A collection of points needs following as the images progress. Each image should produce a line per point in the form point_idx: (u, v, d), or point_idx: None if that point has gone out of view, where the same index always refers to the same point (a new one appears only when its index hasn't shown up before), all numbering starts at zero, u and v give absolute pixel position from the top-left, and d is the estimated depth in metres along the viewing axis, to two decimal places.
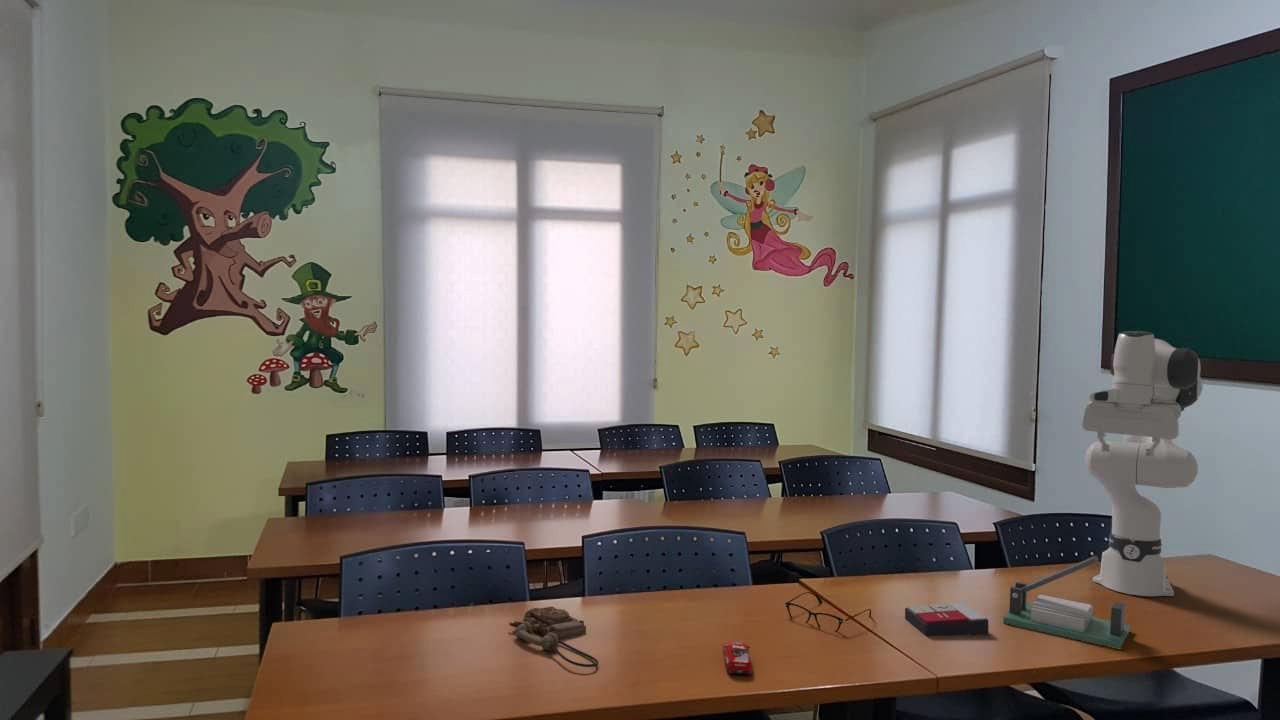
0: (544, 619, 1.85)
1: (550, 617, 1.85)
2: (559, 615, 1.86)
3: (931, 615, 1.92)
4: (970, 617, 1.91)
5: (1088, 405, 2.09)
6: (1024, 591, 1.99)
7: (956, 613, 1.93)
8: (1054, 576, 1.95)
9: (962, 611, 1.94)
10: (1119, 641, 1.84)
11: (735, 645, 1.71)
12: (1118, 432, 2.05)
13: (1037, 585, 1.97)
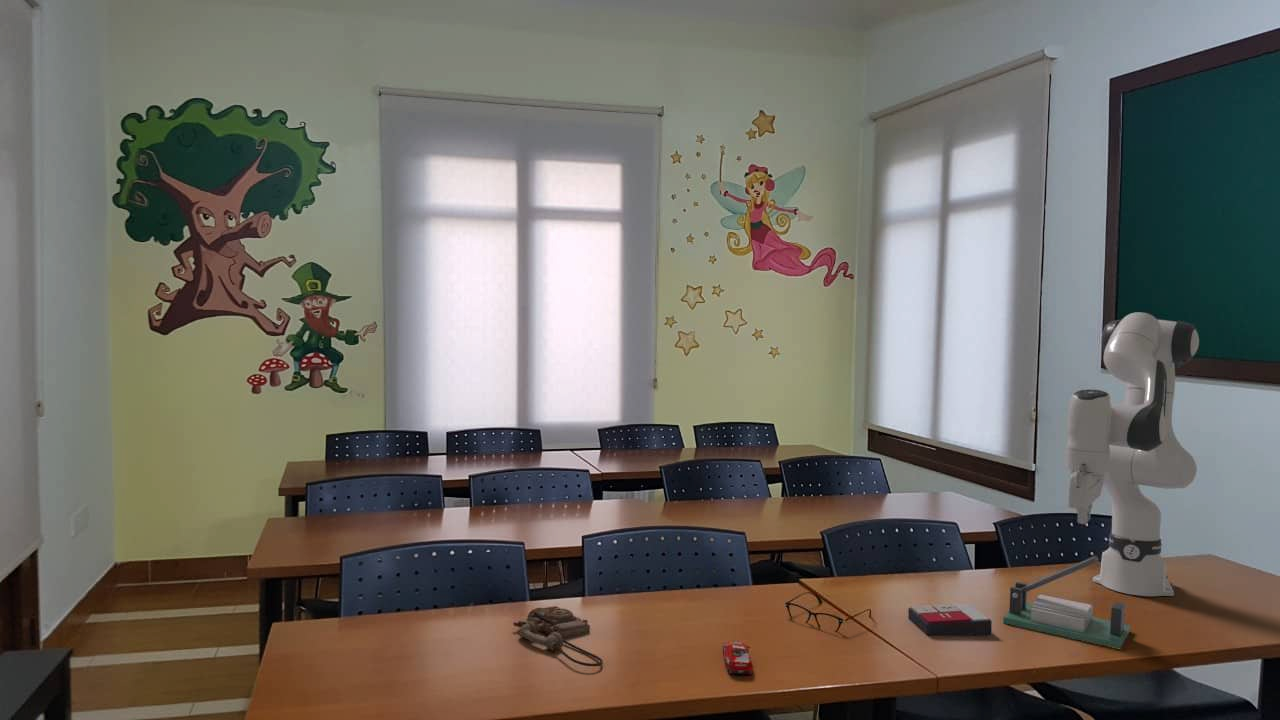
0: (548, 619, 1.86)
1: (554, 617, 1.85)
2: (563, 615, 1.86)
3: (934, 615, 1.92)
4: (973, 618, 1.90)
5: None
6: (1024, 591, 1.99)
7: (959, 613, 1.92)
8: (1054, 576, 1.95)
9: (965, 612, 1.94)
10: (1119, 641, 1.84)
11: (735, 645, 1.71)
12: None
13: (1037, 585, 1.97)
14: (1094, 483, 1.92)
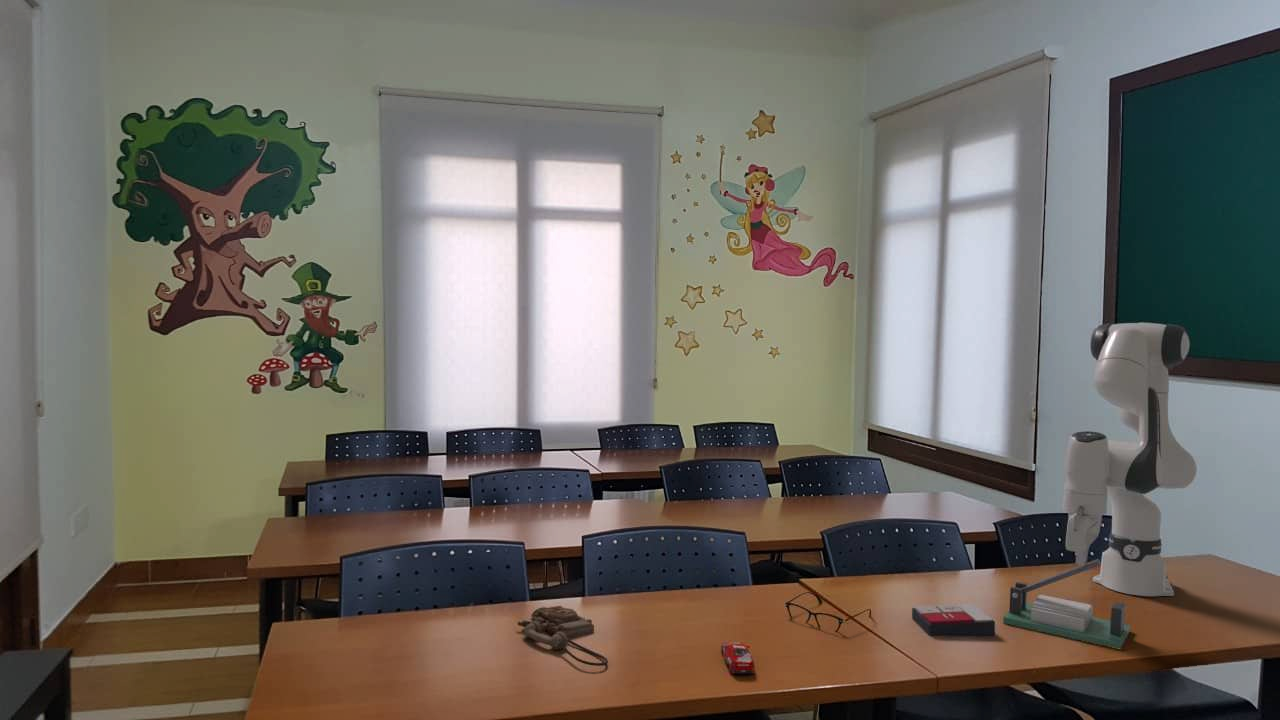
0: (552, 618, 1.86)
1: (558, 617, 1.85)
2: (567, 614, 1.87)
3: (937, 615, 1.92)
4: (976, 618, 1.90)
5: None
6: (1024, 591, 1.99)
7: (962, 614, 1.92)
8: (1055, 578, 1.95)
9: (969, 612, 1.94)
10: (1119, 641, 1.84)
11: (735, 645, 1.71)
12: None
13: (1037, 586, 1.97)
14: (1092, 525, 1.93)
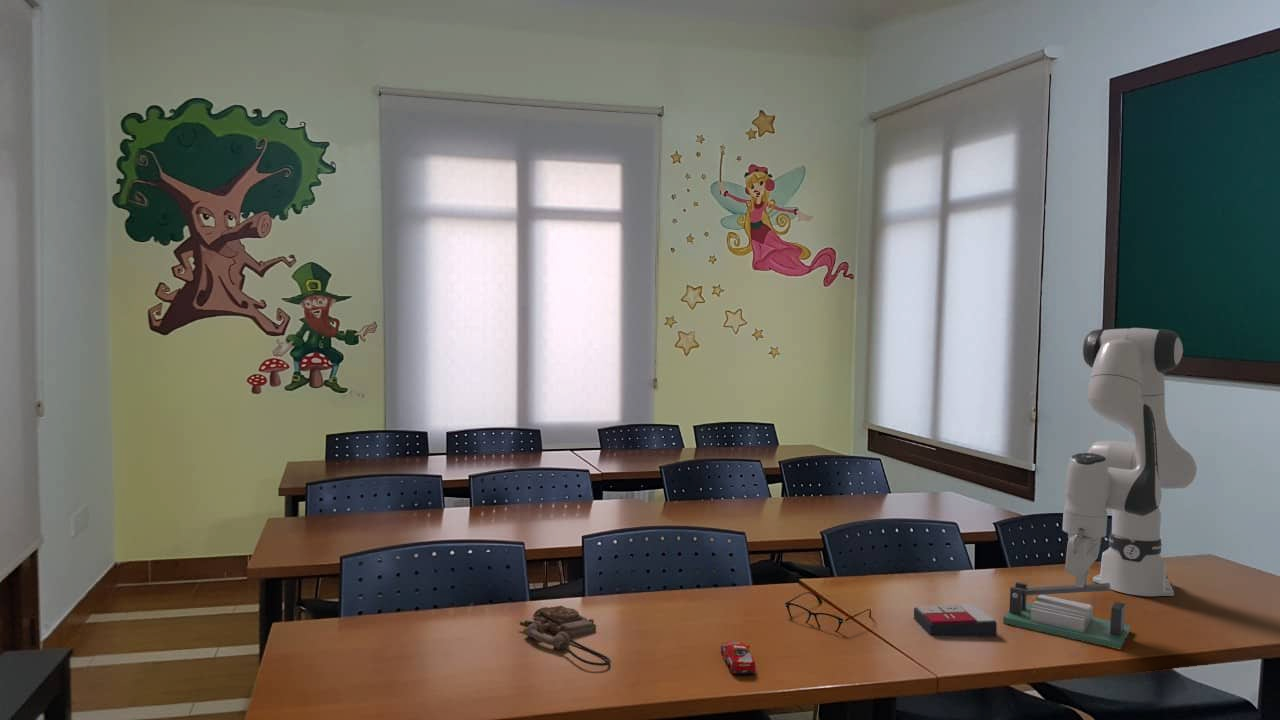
0: (554, 618, 1.86)
1: (560, 616, 1.86)
2: (569, 614, 1.87)
3: (938, 615, 1.92)
4: (978, 619, 1.90)
5: None
6: (1025, 594, 1.99)
7: (964, 614, 1.92)
8: (1060, 590, 1.94)
9: (971, 613, 1.93)
10: (1119, 641, 1.84)
11: (736, 645, 1.71)
12: None
13: (1040, 592, 1.97)
14: (1091, 547, 1.93)
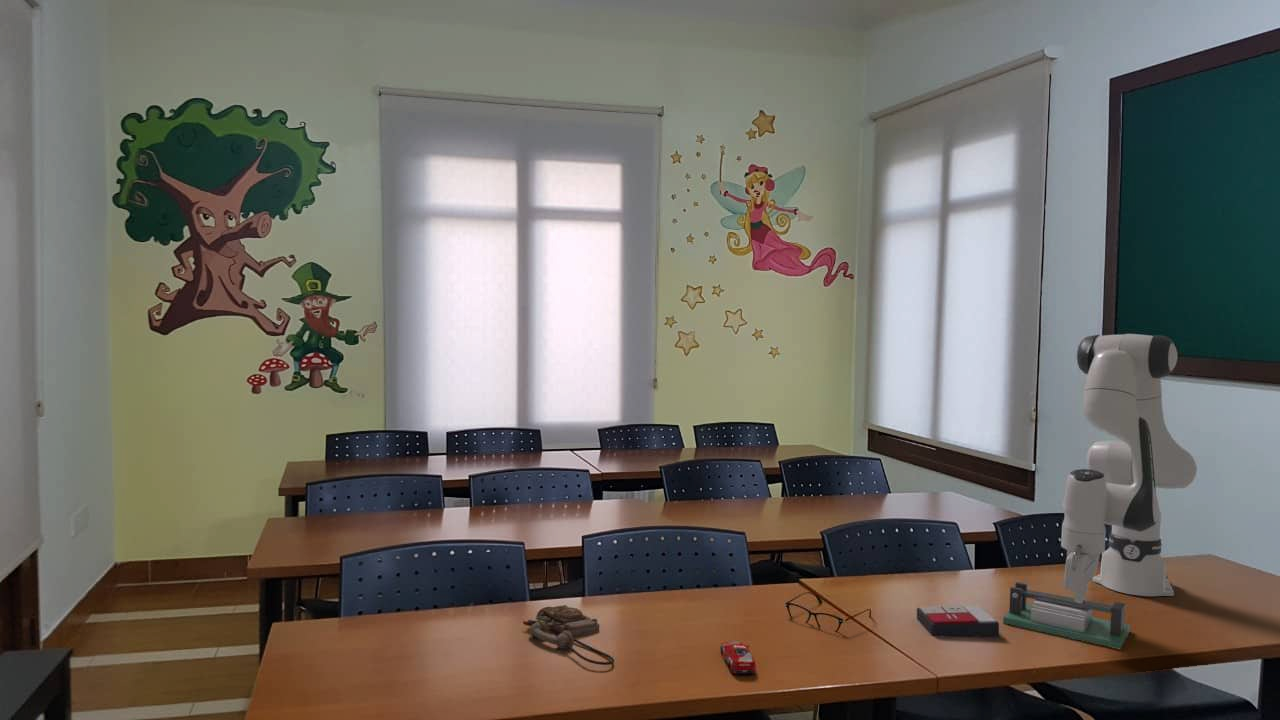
0: (558, 618, 1.87)
1: (563, 616, 1.86)
2: (572, 614, 1.87)
3: (940, 616, 1.92)
4: (980, 619, 1.89)
5: None
6: (1025, 595, 1.99)
7: (967, 615, 1.92)
8: (1062, 600, 1.94)
9: (974, 613, 1.93)
10: (1119, 641, 1.84)
11: (736, 645, 1.71)
12: None
13: (1040, 598, 1.97)
14: (1090, 563, 1.93)
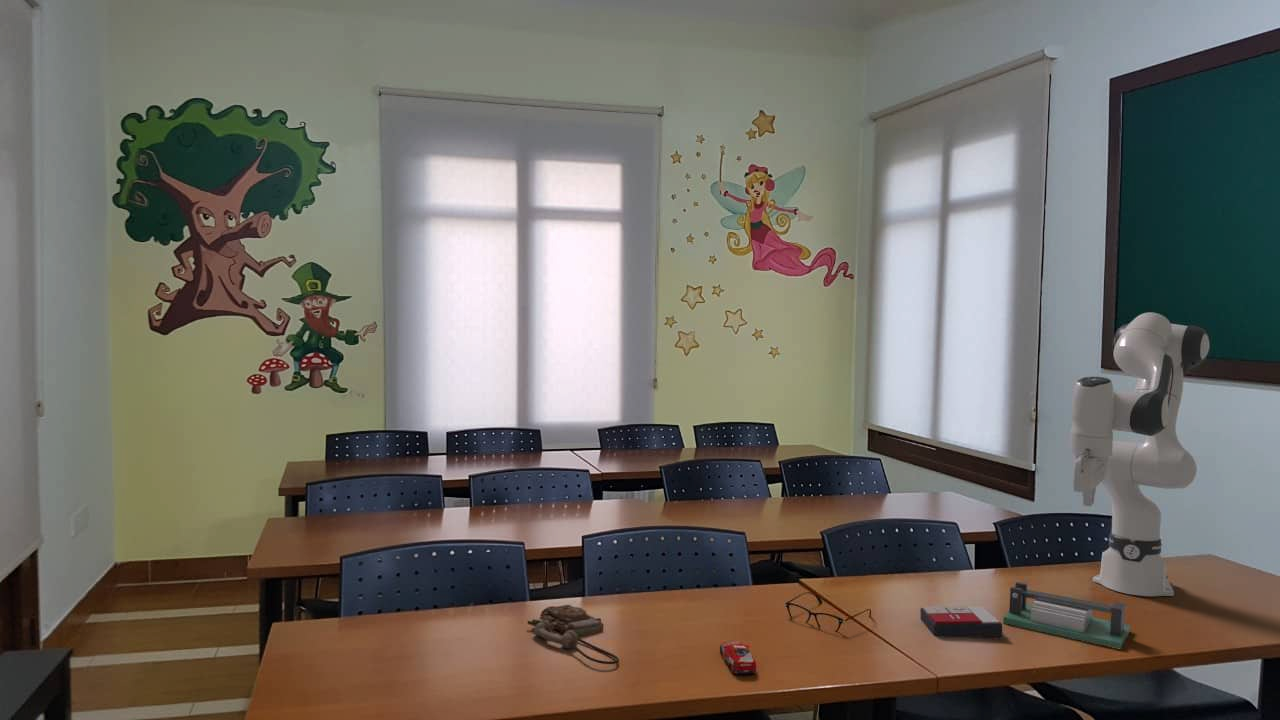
0: (562, 617, 1.87)
1: (567, 615, 1.86)
2: (576, 613, 1.88)
3: (943, 616, 1.91)
4: (983, 620, 1.89)
5: None
6: (1025, 595, 1.99)
7: (970, 615, 1.91)
8: (1062, 600, 1.94)
9: (977, 614, 1.93)
10: (1119, 641, 1.84)
11: (736, 645, 1.71)
12: None
13: (1040, 598, 1.97)
14: (1098, 467, 1.98)
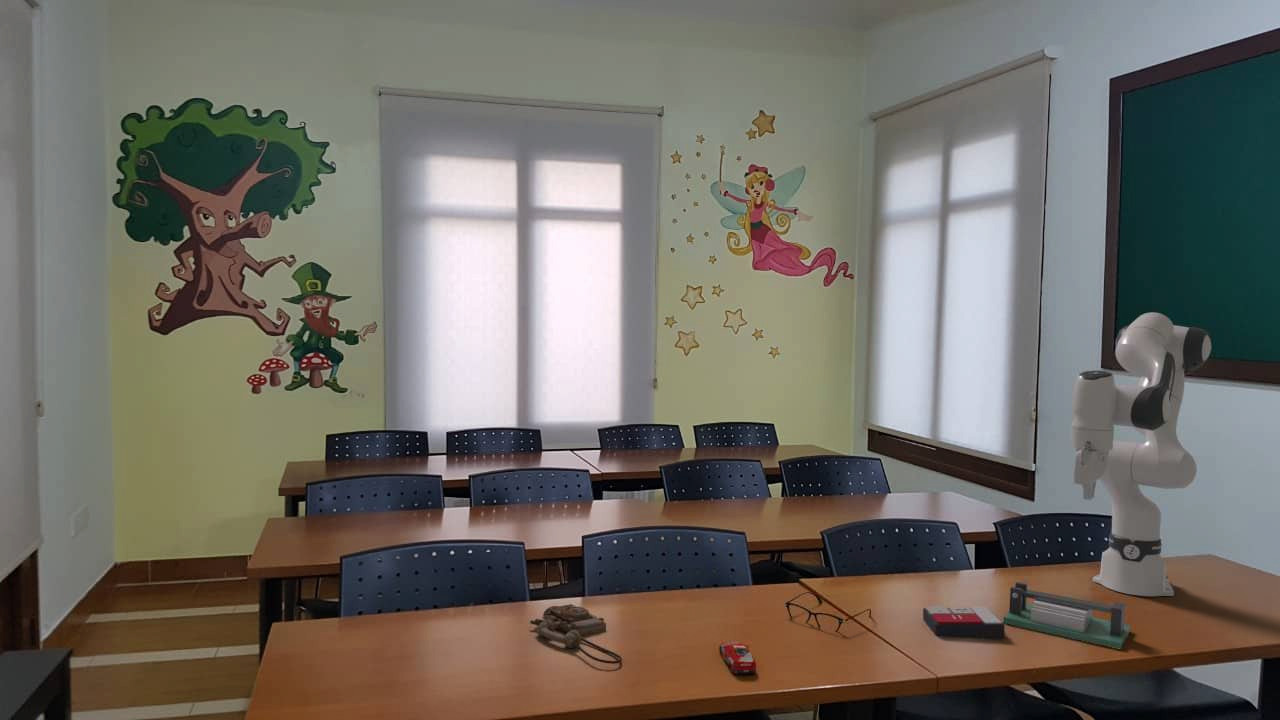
0: (564, 617, 1.87)
1: (570, 615, 1.87)
2: (579, 613, 1.88)
3: (945, 616, 1.91)
4: (985, 620, 1.89)
5: None
6: (1025, 595, 1.99)
7: (972, 616, 1.91)
8: (1062, 600, 1.94)
9: (980, 614, 1.92)
10: (1119, 641, 1.84)
11: (735, 645, 1.71)
12: None
13: (1040, 598, 1.97)
14: (1099, 461, 1.99)
